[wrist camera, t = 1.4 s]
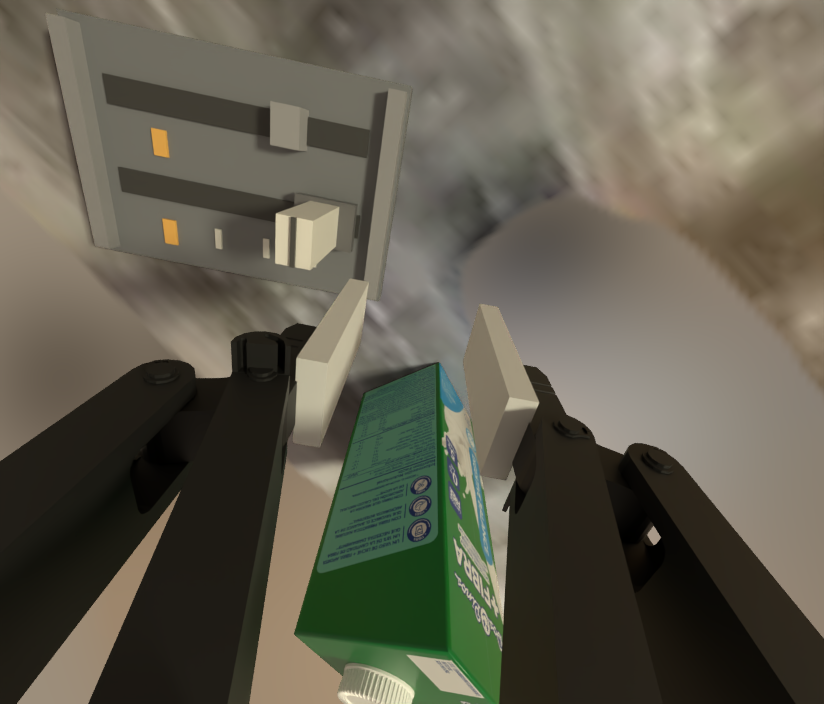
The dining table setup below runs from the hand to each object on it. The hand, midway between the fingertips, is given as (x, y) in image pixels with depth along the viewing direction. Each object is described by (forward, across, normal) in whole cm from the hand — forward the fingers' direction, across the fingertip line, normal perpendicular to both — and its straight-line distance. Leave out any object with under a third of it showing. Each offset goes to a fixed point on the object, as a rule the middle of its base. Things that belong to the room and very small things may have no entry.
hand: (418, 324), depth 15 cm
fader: (+17, -8, 0) cm, 19 cm away
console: (+19, -15, +2) cm, 24 cm away
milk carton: (+19, +3, -18) cm, 26 cm away
